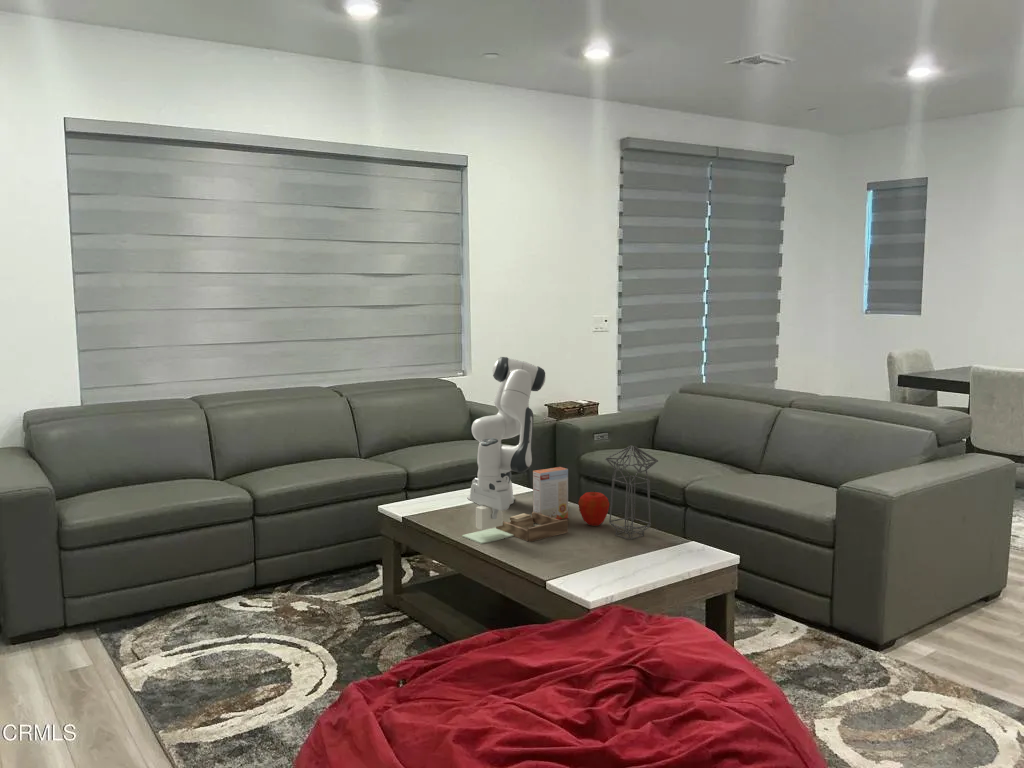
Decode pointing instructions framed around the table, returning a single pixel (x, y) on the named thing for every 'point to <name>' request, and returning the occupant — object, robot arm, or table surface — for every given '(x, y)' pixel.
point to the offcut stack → (522, 520)
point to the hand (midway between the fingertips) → (489, 517)
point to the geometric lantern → (637, 450)
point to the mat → (487, 535)
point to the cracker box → (551, 492)
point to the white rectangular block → (487, 518)
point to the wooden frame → (537, 528)
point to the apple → (593, 507)
